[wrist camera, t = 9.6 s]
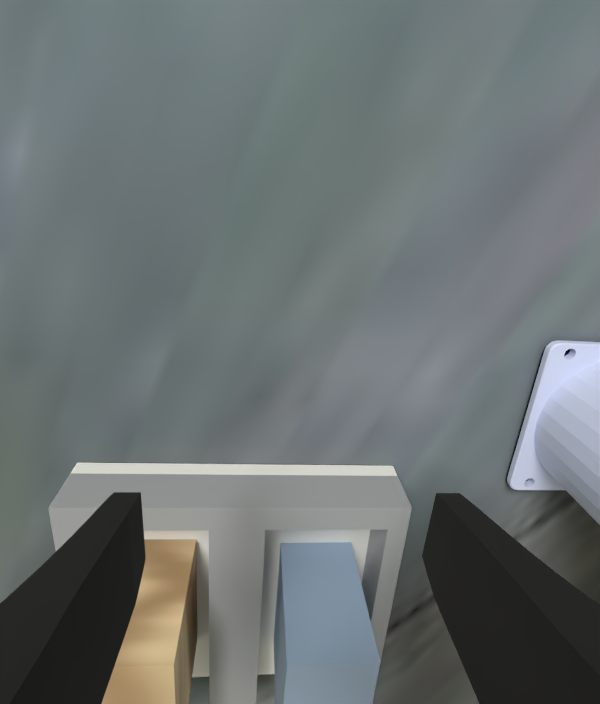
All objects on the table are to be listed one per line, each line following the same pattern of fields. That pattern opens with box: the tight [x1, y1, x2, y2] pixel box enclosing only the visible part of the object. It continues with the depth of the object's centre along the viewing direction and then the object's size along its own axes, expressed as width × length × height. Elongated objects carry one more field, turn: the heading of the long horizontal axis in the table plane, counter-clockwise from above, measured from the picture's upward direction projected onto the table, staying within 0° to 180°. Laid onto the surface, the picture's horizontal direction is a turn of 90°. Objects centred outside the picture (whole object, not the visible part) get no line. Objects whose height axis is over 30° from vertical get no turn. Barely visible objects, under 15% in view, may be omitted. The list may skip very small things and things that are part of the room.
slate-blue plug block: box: [274, 542, 381, 704], centre depth 21 cm, size 4×7×6 cm, turn 176°
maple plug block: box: [102, 539, 197, 704], centre depth 20 cm, size 4×7×6 cm, turn 176°
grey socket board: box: [48, 463, 412, 704], centre depth 22 cm, size 15×14×3 cm
